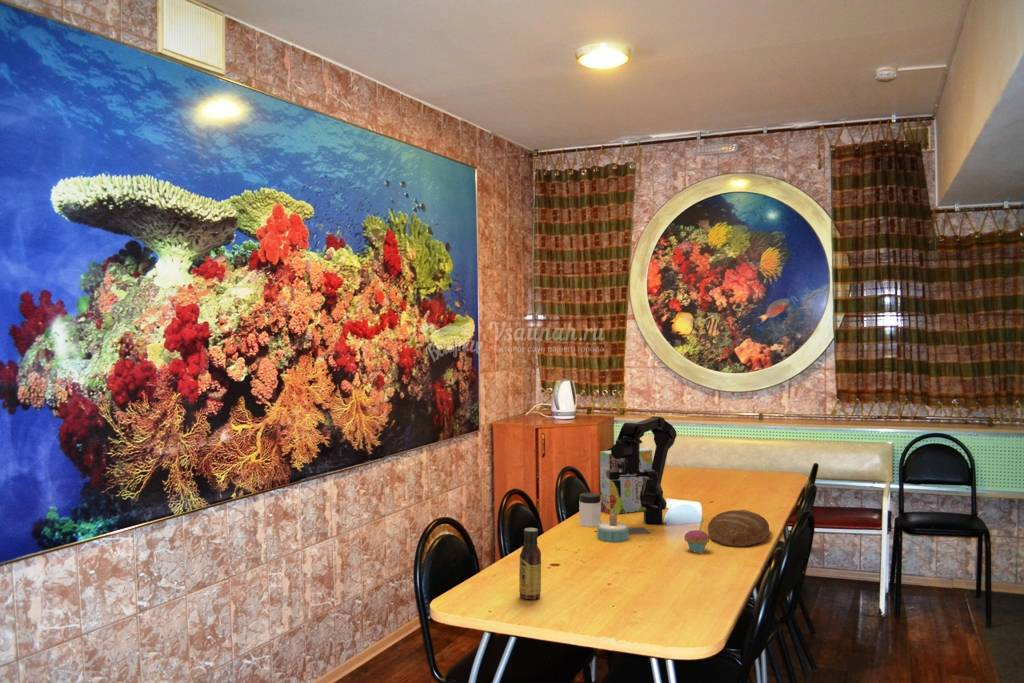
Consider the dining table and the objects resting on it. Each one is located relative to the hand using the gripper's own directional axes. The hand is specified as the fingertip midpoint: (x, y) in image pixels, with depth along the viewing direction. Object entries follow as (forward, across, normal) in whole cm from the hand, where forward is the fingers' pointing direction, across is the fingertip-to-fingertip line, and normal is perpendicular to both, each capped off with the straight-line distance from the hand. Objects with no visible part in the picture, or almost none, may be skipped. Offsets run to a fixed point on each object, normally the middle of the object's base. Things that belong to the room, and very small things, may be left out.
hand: (631, 497), depth 324 cm
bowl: (+13, +10, +11) cm, 20 cm away
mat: (+13, -1, +1) cm, 13 cm away
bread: (+14, -38, +10) cm, 42 cm away
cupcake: (+13, -15, +30) cm, 36 cm away
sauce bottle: (+13, +50, +73) cm, 89 cm away
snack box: (+13, -7, -34) cm, 38 cm away
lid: (+9, +10, +11) cm, 17 cm away
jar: (+13, +14, -11) cm, 22 cm away
